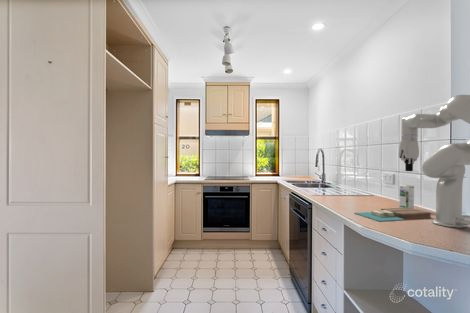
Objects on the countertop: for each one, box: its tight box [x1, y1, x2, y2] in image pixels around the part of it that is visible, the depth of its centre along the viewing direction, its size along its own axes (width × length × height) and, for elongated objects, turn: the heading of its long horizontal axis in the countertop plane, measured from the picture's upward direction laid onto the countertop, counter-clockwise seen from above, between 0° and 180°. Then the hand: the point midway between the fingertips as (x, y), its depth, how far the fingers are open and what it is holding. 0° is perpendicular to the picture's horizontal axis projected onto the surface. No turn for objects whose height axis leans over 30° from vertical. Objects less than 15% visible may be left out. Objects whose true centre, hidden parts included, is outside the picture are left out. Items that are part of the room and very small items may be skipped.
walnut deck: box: [380, 207, 432, 220], centre depth 141 cm, size 14×18×2 cm
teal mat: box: [354, 211, 406, 222], centre depth 137 cm, size 18×16×1 cm
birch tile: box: [370, 209, 394, 217], centre depth 139 cm, size 9×6×2 cm, turn 103°
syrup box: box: [398, 184, 415, 209], centre depth 161 cm, size 6×6×14 cm
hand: (409, 171), depth 145 cm, fingers closed
